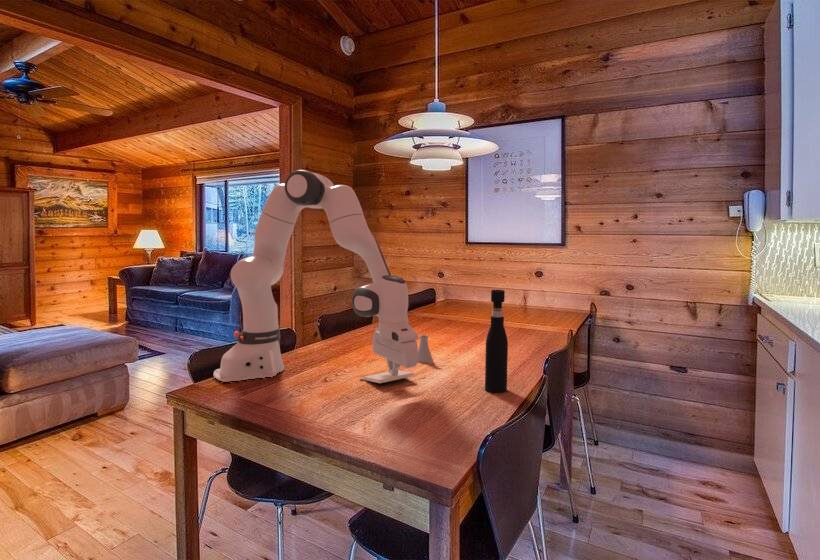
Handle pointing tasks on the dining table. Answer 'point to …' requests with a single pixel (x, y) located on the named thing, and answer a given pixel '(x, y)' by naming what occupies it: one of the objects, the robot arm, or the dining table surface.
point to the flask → (424, 351)
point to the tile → (388, 376)
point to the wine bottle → (496, 348)
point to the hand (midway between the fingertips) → (393, 374)
